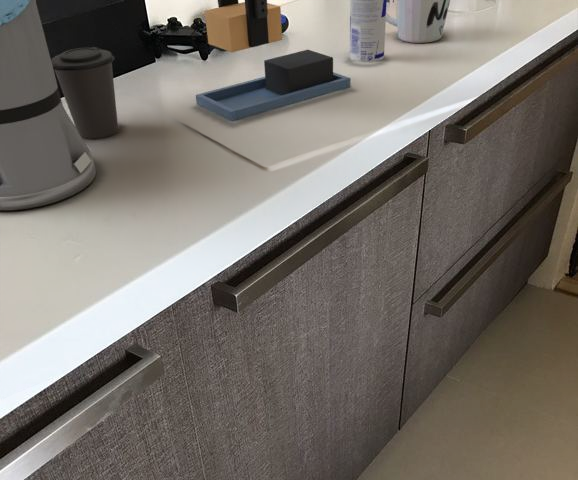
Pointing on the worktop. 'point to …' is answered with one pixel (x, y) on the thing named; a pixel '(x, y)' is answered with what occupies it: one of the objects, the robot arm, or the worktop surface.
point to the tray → (261, 97)
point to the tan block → (238, 26)
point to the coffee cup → (88, 90)
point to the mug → (420, 19)
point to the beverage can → (367, 30)
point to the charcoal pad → (297, 71)
